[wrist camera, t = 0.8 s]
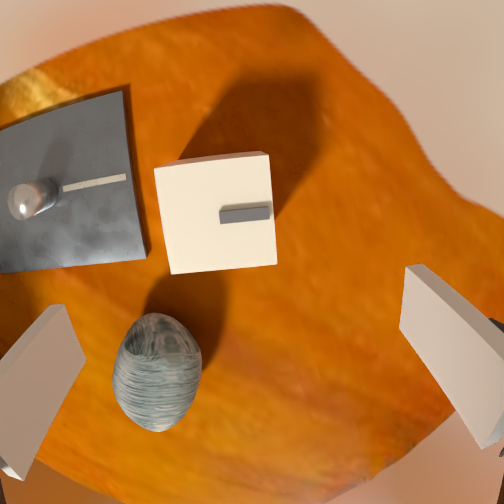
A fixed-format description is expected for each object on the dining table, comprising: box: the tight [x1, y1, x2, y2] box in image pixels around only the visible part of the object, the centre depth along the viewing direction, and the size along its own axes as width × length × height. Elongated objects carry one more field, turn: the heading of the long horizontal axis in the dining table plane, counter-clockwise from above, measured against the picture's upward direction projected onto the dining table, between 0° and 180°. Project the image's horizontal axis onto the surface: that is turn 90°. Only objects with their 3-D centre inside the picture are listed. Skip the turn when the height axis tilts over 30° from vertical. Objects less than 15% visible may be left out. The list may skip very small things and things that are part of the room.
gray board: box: [0, 91, 148, 274], centre depth 25 cm, size 20×16×5 cm
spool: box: [113, 313, 202, 432], centre depth 31 cm, size 14×10×10 cm
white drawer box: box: [154, 151, 277, 274], centre depth 25 cm, size 7×7×9 cm
